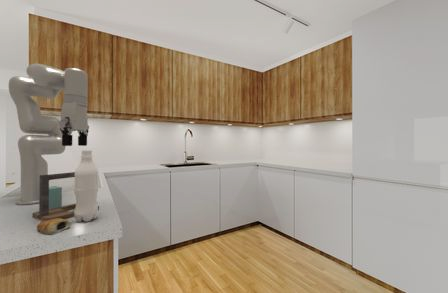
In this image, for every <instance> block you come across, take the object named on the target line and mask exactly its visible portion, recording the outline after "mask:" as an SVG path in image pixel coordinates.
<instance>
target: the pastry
mask: <svg viewBox="0 0 448 293" xmlns="http://www.w3.org/2000/svg"><path fill="white" fill-rule="evenodd" d="M69 227H71V222H70V220H69V219H68V218H67V219H61V218H55V219H51V220H46V221H42V220H41V221H40V222H39V223H38V224H37V225H36V228H37V230H38V231H39V233H40V232H41V234H45V235H50V234H51V235H54V234H58V233H61V232H63V231H66V230H68V229H69Z"/></svg>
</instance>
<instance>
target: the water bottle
mask: <svg viewBox="0 0 448 293" xmlns="http://www.w3.org/2000/svg"><path fill="white" fill-rule="evenodd" d="M80 158H81V159H80V162H79V164H78V166H77V167H76V169H75V171H74V172H75V177H74V190H73V192H74V195H75V203H76V207H75V209H74V210H73V211H74V219H75V220H76V222H78V223H81V222H82V221H84V222H86V223H87V222H91V221H92V220H95V219H97V217H98V214H99V210H98V207H97V206H98V203H97V201H98V200H97V198H98V192H99V182H98V181H99V170H98V168H97V166H96V165H95V162H93V154H92V150H81V155H80Z"/></svg>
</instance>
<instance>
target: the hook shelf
mask: <svg viewBox="0 0 448 293" xmlns="http://www.w3.org/2000/svg"><path fill="white" fill-rule="evenodd" d="M70 178H75V171H73V172H63V173H54V174H53V173H52V174H51V173H50V174H48V175H40V186H39V203H38V204H39V205H38V206H39V208H38V209H39V211H35V212H32V214H31V215H32V218H35V219H37V220H39V221H41V222H42V221H46V220H51V219H55V218H61V219H67V220H68V219H71V218H75V216H74V211H75V207H76V202H75V203H72V204H67V205H62V207H57V208H53V209H49V187H50V181H51V180H52V181H53V180H61V179H70ZM97 207H98V211H100V205H97ZM70 210H71V211H70Z"/></svg>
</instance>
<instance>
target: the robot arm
mask: <svg viewBox="0 0 448 293" xmlns="http://www.w3.org/2000/svg"><path fill="white" fill-rule="evenodd" d="M26 74H27V76H22V75H21V76H19V75H17V76H16V75H15V76H12V77H11V78H10V79H9V80H8V92H9V95H10V98H11V99H12V101H13V103H14V105H15V107H16V114H17V118H18V125H19V129H20V131H22V132H23V133H25V134H26V135H22V136H21V137H19V139H18V140H17V147H18V152H19V157H20V158H19V159H20V160H19V161H20V198H19V199H17V200H15V205H21V206H22V205H23V206H24V205H33V204H39V186H40V175H49V174H48V172H49V169H48V167H49V165H48V162H47V160H46V159H45V158H44V157H43V156H45V155H47V156H48V155H60V154H63V153H64V152H65V150H66V147H72V146H73V134H72V133H73V132H75V131H77V133H78V136H77V142H78V143H77V145H78V147H79V146H80V147H81V146H82V147H86V146H87V145H88V135H89V130H90V125H89V122H88V121H89V120H88V119H89V118H88V110H87V107H88V89H89V87H88V84H89V80H88V79H89V78H88V77H89V76H88V73H87V72H86V71H85V70H82V69H81V68H75V67H68V68H65V69H64V70H62V69H60V68H55V67H54V66H49V65H45V64H44V63H43V64H42V63H32V64H31V63H30V64H29V65H28V66H27V67H26ZM61 91H63V103H62V106H61V112H60V118H57V117H56V116H51V115H44V114H42V112H41V107H40V105H39V104H38V102H37V101H36V100H34V99H33V98H32V97H37V98H42V99H43V98H44V99H51V100H52V99H55V98H56V97H58V95H59V94H60V92H61ZM27 134H28V135H27Z"/></svg>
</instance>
